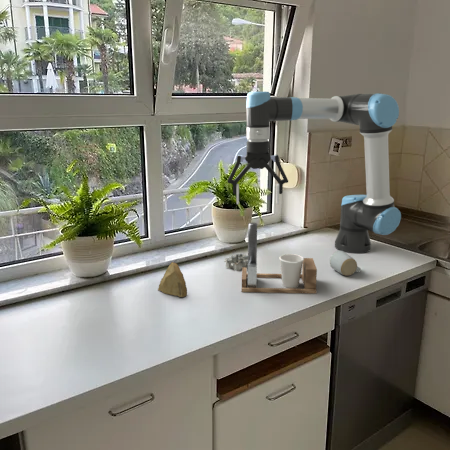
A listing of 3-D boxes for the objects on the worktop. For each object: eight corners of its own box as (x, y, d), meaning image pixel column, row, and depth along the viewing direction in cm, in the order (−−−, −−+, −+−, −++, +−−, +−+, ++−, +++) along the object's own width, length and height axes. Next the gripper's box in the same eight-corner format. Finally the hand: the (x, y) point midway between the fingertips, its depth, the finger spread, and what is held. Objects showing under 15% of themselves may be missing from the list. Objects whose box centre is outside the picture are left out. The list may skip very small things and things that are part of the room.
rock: (196, 289, 152) (188, 275, 161) (181, 273, 148) (173, 259, 156) (170, 310, 152) (163, 295, 161) (154, 295, 148) (148, 280, 156)
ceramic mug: (340, 278, 167) (342, 258, 165) (328, 270, 175) (330, 251, 173) (365, 274, 171) (367, 255, 169) (352, 267, 178) (353, 248, 176)
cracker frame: (311, 277, 168) (312, 256, 166) (316, 293, 155) (317, 271, 152) (242, 276, 169) (242, 255, 167) (241, 291, 156) (241, 269, 154)
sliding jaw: (256, 277, 167) (257, 219, 161) (256, 289, 158) (257, 227, 152) (247, 277, 167) (248, 219, 161) (247, 288, 158) (248, 227, 152)
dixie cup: (285, 291, 156) (286, 263, 154) (274, 282, 164) (275, 255, 161) (307, 287, 160) (308, 260, 157) (294, 278, 167) (295, 252, 164)
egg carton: (238, 272, 174) (238, 262, 173) (222, 267, 178) (222, 257, 177) (254, 264, 182) (254, 254, 181) (238, 259, 187) (238, 250, 185)
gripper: (219, 141, 149) (220, 206, 155) (297, 141, 148) (295, 205, 153) (220, 139, 156) (221, 200, 162) (295, 138, 155) (293, 200, 161)
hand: (257, 203), depth 158 cm, fingers open, 13 cm apart
